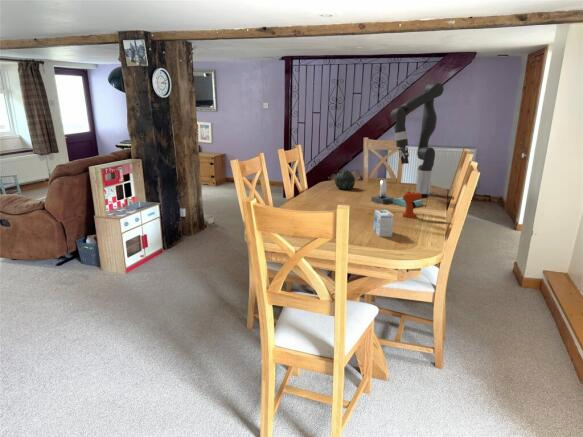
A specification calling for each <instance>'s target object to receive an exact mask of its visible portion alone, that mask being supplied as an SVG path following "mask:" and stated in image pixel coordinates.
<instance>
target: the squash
mask: <svg viewBox="0 0 583 437" xmlns="http://www.w3.org/2000/svg"><path fill="white" fill-rule="evenodd" d="M355 179H356V178H355V176H354V175H353V173H351V171H349V170H343V171H341V172H339V173H338V174H337V175H336V176H335V178H334V183H335V186H336V187H337V188H338V189H342V190H344V191H345V190H347V191H349V190H351V189H353V188H354V187H355V185H356V184H355V183H356V180H355Z"/></svg>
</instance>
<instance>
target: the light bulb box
mask: <svg viewBox="0 0 583 437" xmlns="http://www.w3.org/2000/svg"><path fill="white" fill-rule="evenodd" d="M394 218H395V215H394V214H393V213H392V212H390V211H389V210H388V209H375V210H374V217H373V232H374V233H375V234H376V235H377V237H383V238H384V237H387V238H388V237H391V238H392V237H393V228H394Z"/></svg>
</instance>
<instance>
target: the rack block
mask: <svg viewBox="0 0 583 437" xmlns="http://www.w3.org/2000/svg"><path fill="white" fill-rule="evenodd" d="M423 202H424V200H423V199H420V200H417V201H414V203H415V205H416V207H419V206H420V207H421V206H423ZM392 204H393V205H396V204H397V206H400V205H401V207H404V206H405V208H406V202H405V201H404V200H403V196H402V197H398V198H394V199H393V202H392Z"/></svg>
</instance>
